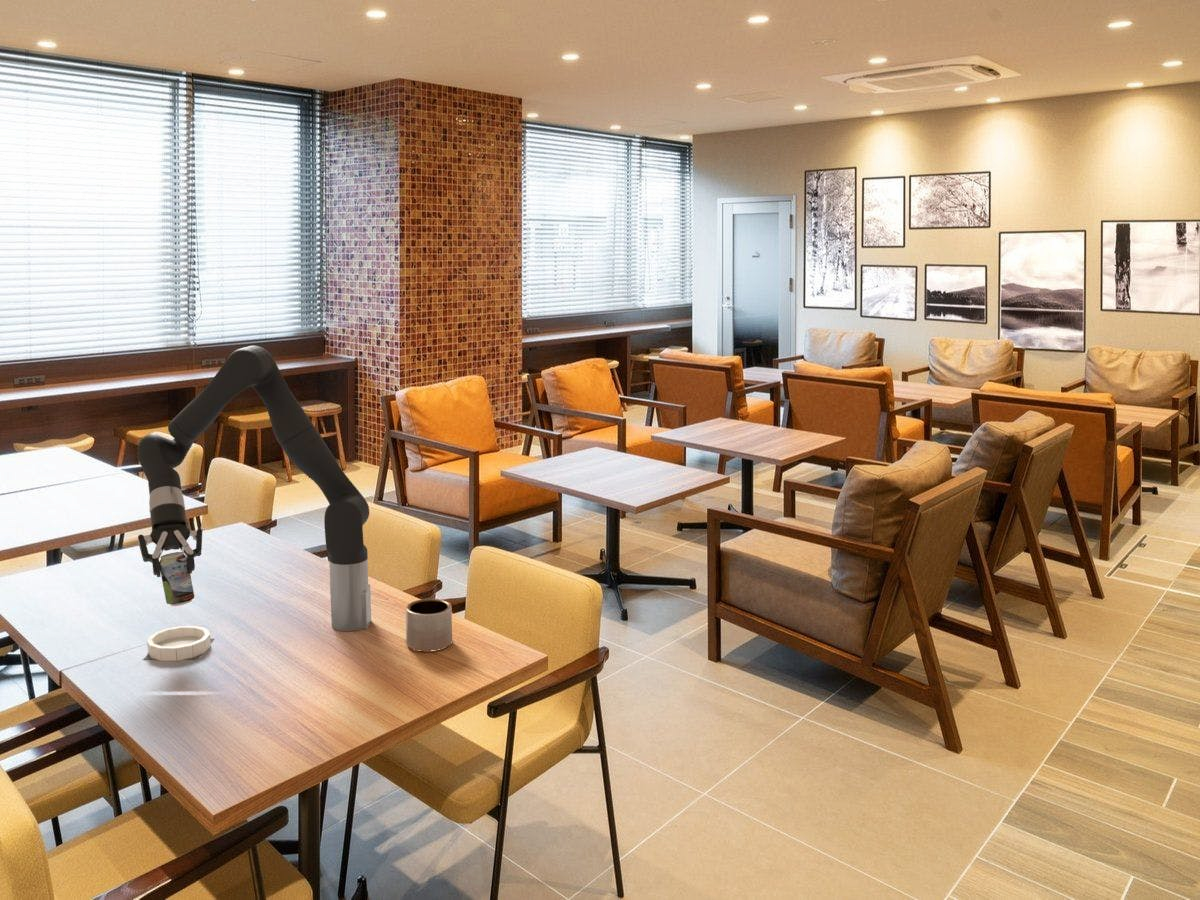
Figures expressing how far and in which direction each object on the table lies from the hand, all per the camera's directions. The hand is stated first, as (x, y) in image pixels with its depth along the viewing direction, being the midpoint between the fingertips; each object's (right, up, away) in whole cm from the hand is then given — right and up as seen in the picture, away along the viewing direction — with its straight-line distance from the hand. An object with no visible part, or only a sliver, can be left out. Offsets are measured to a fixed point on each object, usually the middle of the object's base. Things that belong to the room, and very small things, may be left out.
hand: (174, 573), depth 217 cm
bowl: (-1, -18, +5) cm, 19 cm away
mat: (-1, -19, +5) cm, 19 cm away
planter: (+56, -19, +12) cm, 60 cm away
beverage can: (-1, -8, +3) cm, 8 cm away
